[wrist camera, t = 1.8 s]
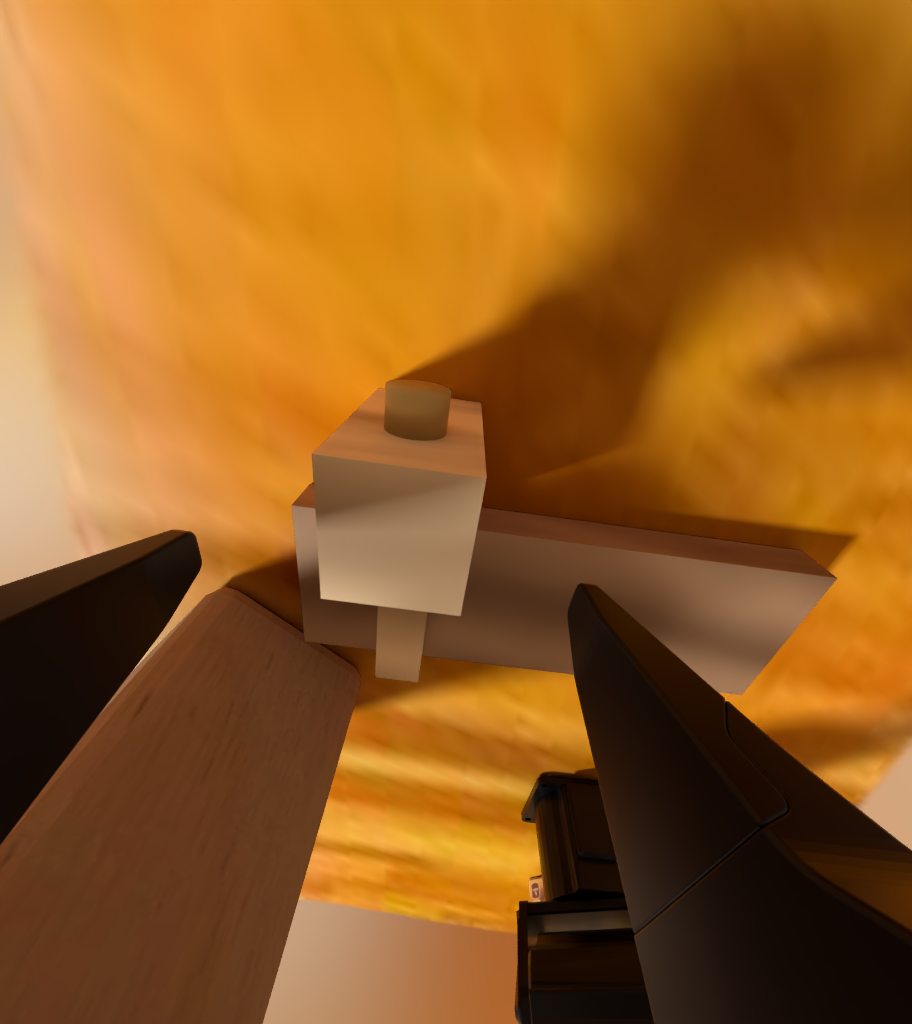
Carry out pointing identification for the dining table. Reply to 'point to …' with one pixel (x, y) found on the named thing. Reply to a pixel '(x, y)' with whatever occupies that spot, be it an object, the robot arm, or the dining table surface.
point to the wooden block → (177, 831)
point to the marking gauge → (401, 512)
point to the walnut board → (612, 567)
